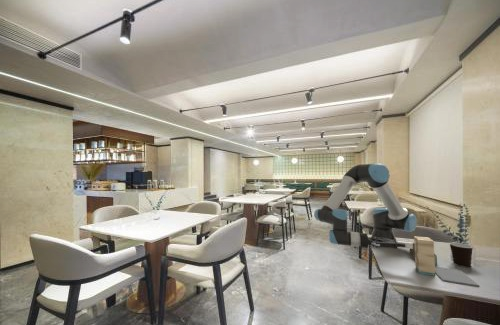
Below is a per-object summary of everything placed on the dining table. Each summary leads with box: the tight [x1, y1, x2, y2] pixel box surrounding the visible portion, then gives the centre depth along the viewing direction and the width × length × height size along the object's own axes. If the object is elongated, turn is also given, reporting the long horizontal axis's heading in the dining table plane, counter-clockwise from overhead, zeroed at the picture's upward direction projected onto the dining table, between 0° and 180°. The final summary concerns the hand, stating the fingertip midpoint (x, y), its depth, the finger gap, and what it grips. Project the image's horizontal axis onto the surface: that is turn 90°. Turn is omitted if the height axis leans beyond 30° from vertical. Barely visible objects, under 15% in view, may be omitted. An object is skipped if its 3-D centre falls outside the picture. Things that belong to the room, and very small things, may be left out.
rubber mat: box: [435, 266, 480, 288], centre depth 98 cm, size 16×12×1 cm
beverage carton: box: [409, 242, 439, 267], centre depth 118 cm, size 8×19×7 cm, turn 156°
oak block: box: [413, 236, 436, 276], centre depth 103 cm, size 6×6×16 cm
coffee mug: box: [449, 242, 474, 268], centre depth 112 cm, size 12×9×10 cm
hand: (412, 245), depth 104 cm, fingers closed
